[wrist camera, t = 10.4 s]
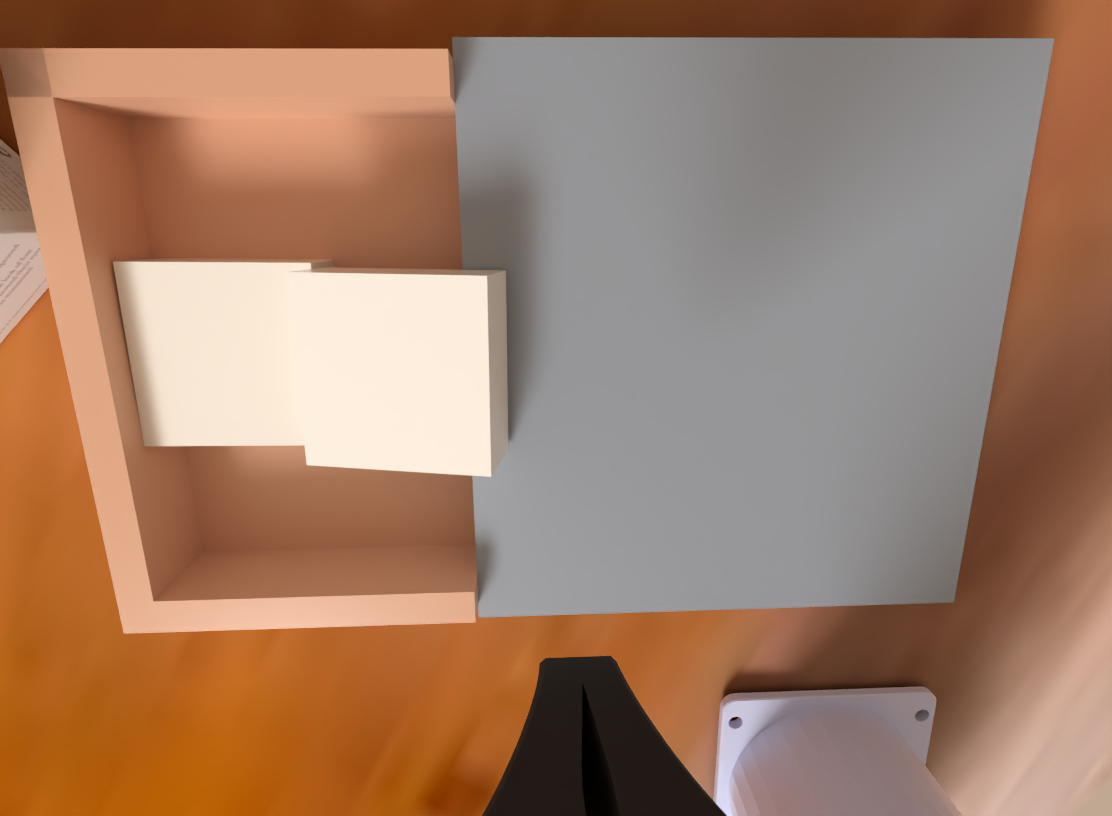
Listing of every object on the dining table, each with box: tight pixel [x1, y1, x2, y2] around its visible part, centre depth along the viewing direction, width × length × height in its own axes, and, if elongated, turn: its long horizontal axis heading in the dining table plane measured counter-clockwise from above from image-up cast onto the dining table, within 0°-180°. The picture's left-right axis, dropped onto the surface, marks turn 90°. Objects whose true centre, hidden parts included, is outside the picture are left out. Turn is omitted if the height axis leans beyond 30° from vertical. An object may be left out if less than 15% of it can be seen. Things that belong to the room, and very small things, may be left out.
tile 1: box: [287, 267, 508, 477], centre depth 17 cm, size 5×5×2 cm
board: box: [452, 37, 1054, 617], centre depth 19 cm, size 16×15×2 cm
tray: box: [0, 48, 478, 634], centre depth 18 cm, size 15×10×4 cm, turn 1°
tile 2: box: [113, 258, 334, 446], centre depth 18 cm, size 5×5×2 cm
